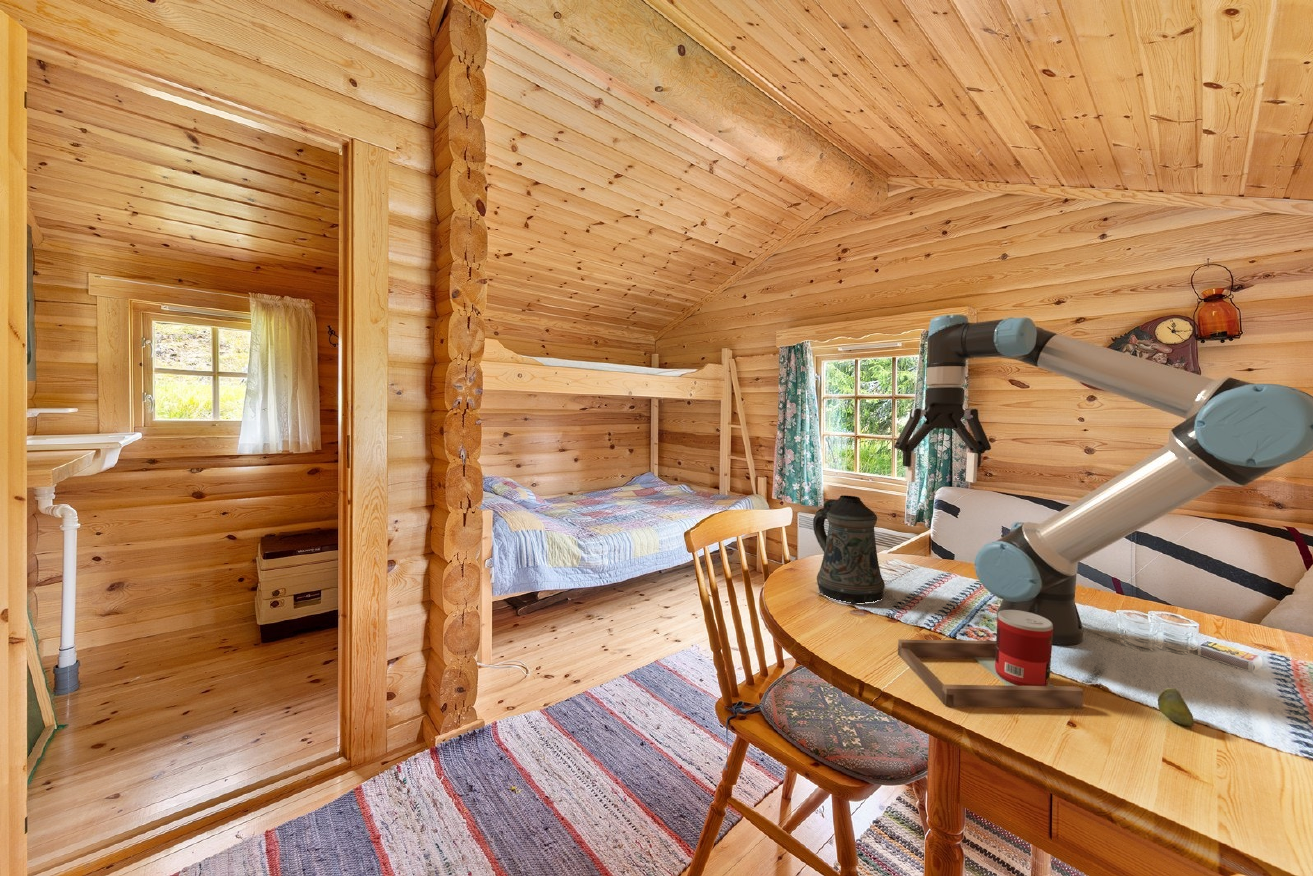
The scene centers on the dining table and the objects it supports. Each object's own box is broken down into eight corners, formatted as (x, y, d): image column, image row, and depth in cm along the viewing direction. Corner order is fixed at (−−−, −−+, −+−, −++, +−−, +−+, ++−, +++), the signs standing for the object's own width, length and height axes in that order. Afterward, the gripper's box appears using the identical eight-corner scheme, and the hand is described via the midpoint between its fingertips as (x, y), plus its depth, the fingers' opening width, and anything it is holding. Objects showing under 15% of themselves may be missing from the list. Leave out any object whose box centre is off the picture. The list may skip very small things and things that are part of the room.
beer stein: (877, 610, 120) (882, 507, 118) (797, 593, 130) (799, 498, 129) (889, 589, 134) (892, 496, 132) (815, 575, 144) (817, 488, 142)
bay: (1010, 655, 99) (1011, 641, 99) (1082, 708, 82) (1083, 690, 82) (897, 654, 99) (898, 639, 99) (945, 706, 82) (946, 688, 82)
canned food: (1058, 692, 86) (1062, 630, 85) (1006, 686, 88) (1009, 625, 87) (1035, 669, 93) (1038, 611, 93) (987, 664, 95) (990, 607, 94)
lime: (1169, 711, 81) (1172, 681, 81) (1206, 730, 77) (1209, 698, 76) (1147, 713, 81) (1149, 683, 80) (1183, 733, 76) (1185, 701, 76)
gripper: (990, 387, 116) (985, 479, 117) (881, 387, 116) (877, 478, 118) (1013, 386, 108) (1007, 484, 110) (896, 386, 109) (892, 483, 110)
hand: (940, 481), depth 114 cm, fingers open, 13 cm apart
